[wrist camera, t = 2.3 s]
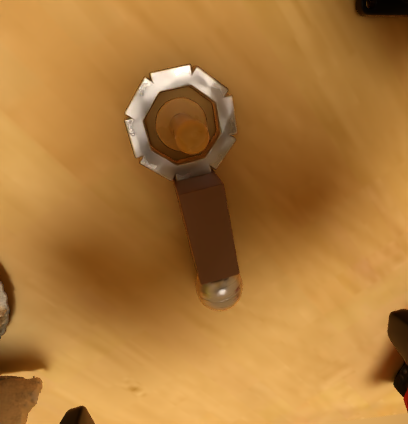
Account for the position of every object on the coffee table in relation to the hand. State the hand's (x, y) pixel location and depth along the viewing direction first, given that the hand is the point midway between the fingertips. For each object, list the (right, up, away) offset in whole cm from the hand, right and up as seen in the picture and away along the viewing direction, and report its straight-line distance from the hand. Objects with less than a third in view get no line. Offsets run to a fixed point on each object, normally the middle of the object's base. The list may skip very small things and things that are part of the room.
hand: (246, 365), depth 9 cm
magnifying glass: (-2, +5, +9) cm, 10 cm away
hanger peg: (-2, +9, +7) cm, 12 cm away
